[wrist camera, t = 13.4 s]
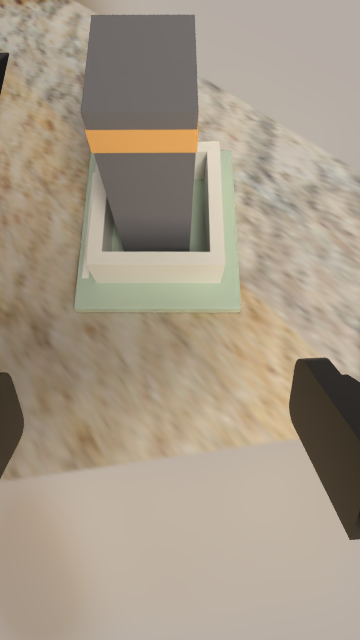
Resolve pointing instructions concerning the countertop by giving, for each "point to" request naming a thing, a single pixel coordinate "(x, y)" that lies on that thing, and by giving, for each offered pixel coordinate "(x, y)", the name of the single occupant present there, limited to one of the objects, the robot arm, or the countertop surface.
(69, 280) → the countertop surface
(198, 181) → the board
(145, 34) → the plug
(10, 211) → the countertop surface
